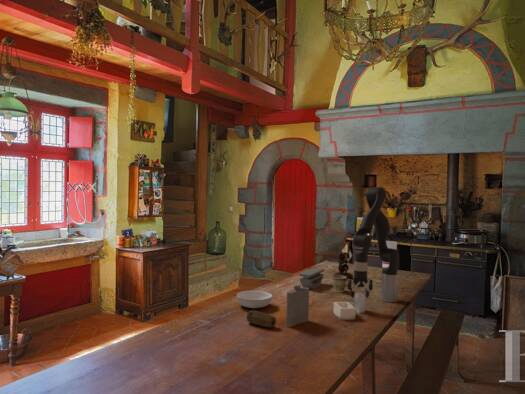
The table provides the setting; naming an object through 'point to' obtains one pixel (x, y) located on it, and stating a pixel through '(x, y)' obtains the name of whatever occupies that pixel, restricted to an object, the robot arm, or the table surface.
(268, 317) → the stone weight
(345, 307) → the hollow off-white angular block
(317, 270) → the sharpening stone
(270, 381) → the table surface
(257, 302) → the serving bowl
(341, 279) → the ceramic cup
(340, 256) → the black knobby tall piece
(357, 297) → the tall brushed metal block
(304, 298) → the hip flask
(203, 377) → the table surface
